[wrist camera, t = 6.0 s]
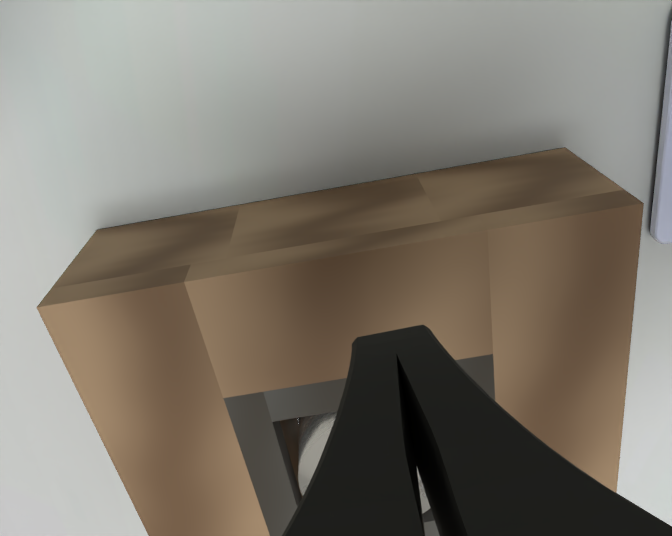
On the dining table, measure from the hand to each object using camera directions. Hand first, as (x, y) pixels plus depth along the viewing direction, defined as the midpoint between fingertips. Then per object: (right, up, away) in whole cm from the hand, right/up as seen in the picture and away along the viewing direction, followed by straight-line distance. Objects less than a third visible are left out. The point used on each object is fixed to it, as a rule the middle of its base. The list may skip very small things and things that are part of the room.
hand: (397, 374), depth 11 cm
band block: (0, -2, +12) cm, 13 cm away
